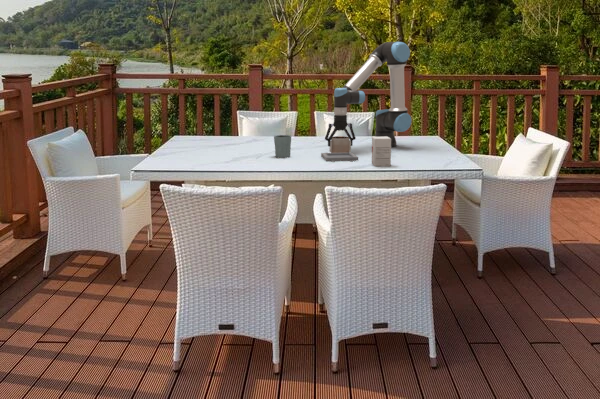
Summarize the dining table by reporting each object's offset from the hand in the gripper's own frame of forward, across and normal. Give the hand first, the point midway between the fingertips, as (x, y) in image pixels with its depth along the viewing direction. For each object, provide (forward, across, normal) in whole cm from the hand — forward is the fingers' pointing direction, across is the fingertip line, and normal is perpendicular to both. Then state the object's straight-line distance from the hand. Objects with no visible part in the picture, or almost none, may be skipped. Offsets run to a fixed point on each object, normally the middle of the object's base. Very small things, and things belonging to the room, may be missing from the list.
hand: (340, 151), depth 428 cm
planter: (+1, 0, 0) cm, 1 cm away
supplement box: (+1, +14, -44) cm, 46 cm away
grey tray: (+1, -4, -20) cm, 21 cm away
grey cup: (+1, -35, -7) cm, 36 cm away
